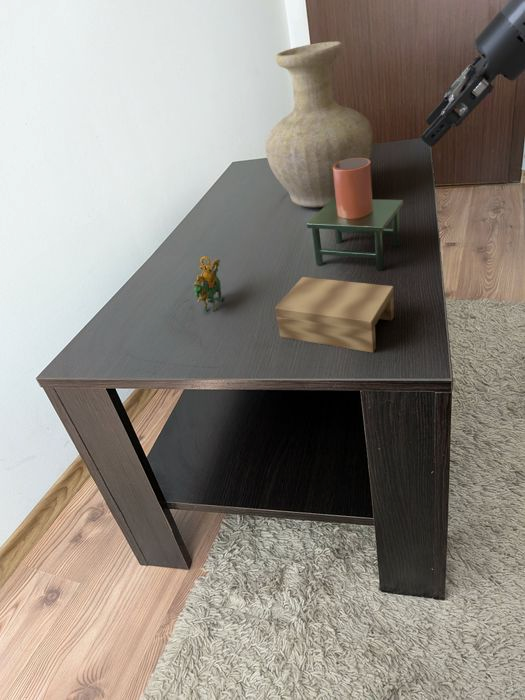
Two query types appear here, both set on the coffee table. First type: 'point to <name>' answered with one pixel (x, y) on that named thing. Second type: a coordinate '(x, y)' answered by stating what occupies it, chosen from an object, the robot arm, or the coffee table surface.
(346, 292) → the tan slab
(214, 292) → the figurine
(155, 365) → the coffee table surface
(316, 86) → the vase
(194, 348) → the coffee table surface
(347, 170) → the cup
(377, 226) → the green miniature table
